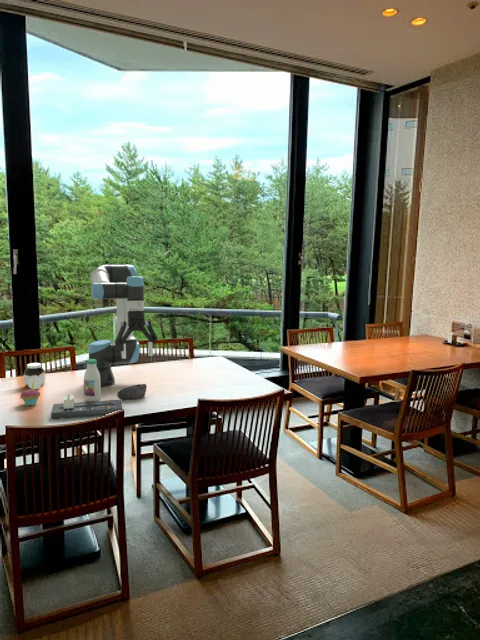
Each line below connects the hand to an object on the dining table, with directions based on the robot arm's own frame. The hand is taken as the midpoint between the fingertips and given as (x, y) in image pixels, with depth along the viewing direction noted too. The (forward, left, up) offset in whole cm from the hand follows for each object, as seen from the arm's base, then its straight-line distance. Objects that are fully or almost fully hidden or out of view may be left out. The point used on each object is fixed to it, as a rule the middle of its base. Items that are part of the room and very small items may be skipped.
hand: (137, 357), depth 217 cm
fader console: (-3, -22, -25) cm, 34 cm away
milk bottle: (-21, -20, -25) cm, 38 cm away
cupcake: (-20, -48, -25) cm, 58 cm away
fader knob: (-3, -30, -22) cm, 38 cm away
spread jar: (-49, -49, -25) cm, 74 cm away
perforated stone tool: (-18, -1, -26) cm, 31 cm away
